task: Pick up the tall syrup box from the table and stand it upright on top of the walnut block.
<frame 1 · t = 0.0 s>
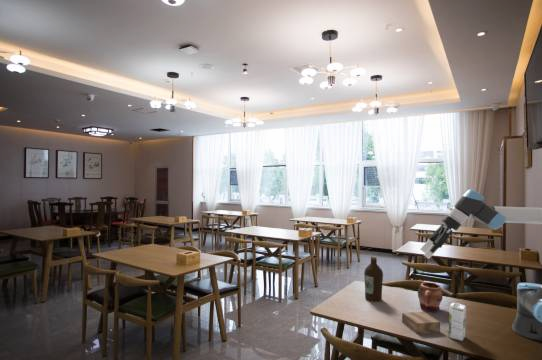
hand: (424, 254, 154), 36 cm above the table, tool tilted 35°, fingers open, 13 cm apart
olive oil: (373, 299, 193), on the table
walnut block: (420, 327, 156), on the table
syrup box: (457, 337, 146), on the table
decorative planter: (429, 310, 177), on the table
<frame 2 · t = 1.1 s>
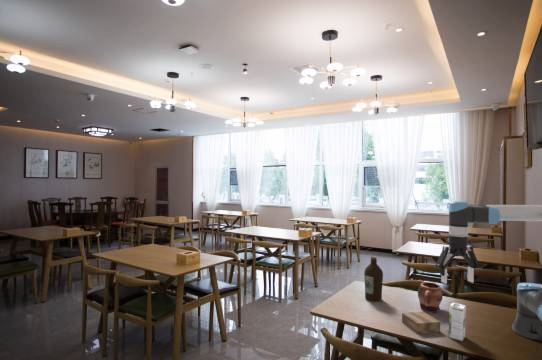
hand: (457, 282, 146), 25 cm above the table, tool pointing down, fingers open, 13 cm apart
nothing on the table moved.
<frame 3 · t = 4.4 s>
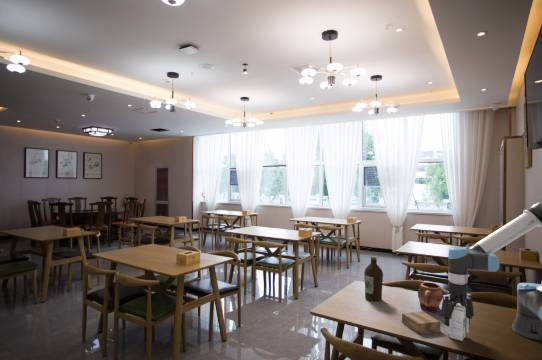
hand: (457, 332, 146), 2 cm above the table, tool pointing down, fingers closed on syrup box, 8 cm apart
syrup box: (457, 337, 146), on the table, touching gripper
everything else where it was.
when the fingers open (9 cm above the table, at t = 10.8 s): syrup box drops 2 cm, point 4 cm above the table.
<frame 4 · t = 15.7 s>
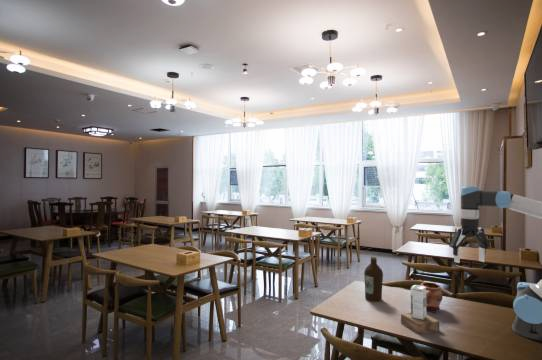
hand: (469, 261, 156), 32 cm above the table, tool pointing down, fingers open, 13 cm apart
syrup box: (419, 317, 156), point 4 cm above the table
everything else where it was.
at the end: syrup box inside the target area on the walnut block (0.5 cm from its centre), point 5.1 cm above the walnut block's base; syrup box tilted 5°; syrup box touching walnut block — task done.
